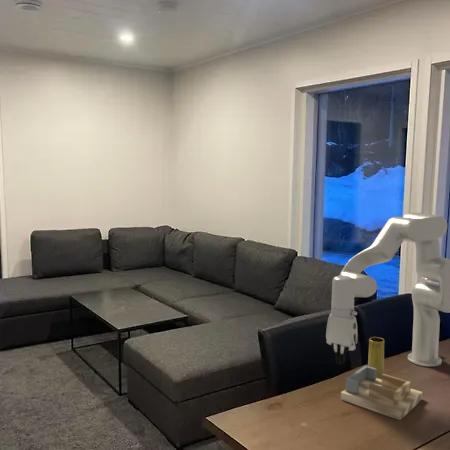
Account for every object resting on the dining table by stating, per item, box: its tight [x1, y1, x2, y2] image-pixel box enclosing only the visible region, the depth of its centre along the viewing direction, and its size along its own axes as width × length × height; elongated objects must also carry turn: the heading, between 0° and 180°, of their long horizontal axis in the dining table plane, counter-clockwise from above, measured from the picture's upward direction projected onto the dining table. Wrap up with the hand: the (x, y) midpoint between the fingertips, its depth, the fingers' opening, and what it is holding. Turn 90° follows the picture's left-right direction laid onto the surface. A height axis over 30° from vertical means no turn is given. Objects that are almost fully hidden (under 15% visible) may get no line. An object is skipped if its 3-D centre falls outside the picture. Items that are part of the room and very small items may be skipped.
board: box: [340, 373, 423, 421], centre depth 160 cm, size 18×20×6 cm
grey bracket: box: [344, 365, 377, 394], centre depth 165 cm, size 14×4×4 cm, turn 138°
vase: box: [367, 336, 385, 380], centre depth 177 cm, size 6×6×14 cm
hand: (340, 362), depth 169 cm, fingers closed
